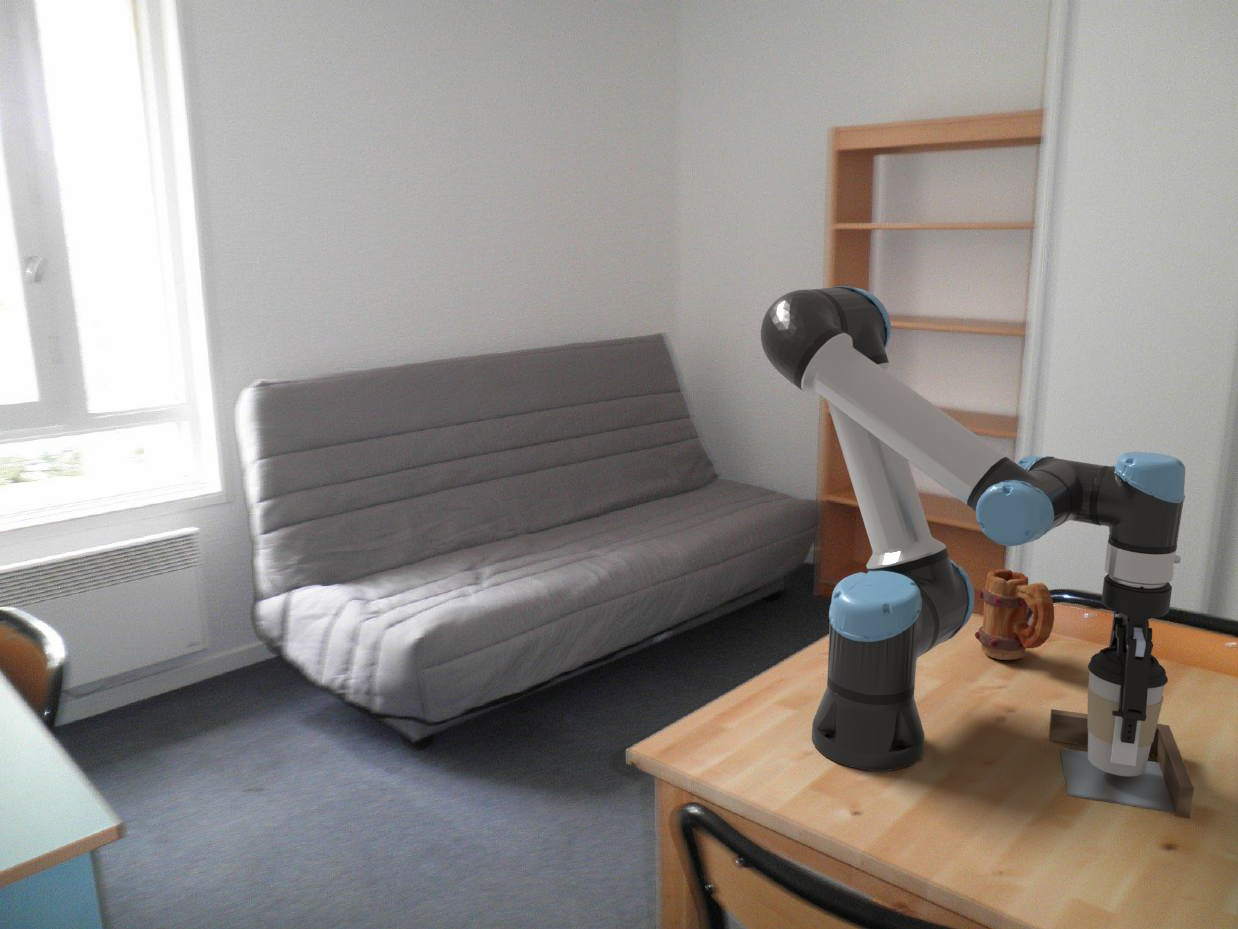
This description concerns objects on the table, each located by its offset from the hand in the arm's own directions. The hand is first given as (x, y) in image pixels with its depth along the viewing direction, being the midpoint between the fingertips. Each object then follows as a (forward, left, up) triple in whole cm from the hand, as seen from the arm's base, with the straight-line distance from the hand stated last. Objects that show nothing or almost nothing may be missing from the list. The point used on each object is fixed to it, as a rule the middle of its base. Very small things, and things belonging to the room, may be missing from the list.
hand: (1118, 745), depth 128 cm
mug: (-11, +35, -5) cm, 37 cm away
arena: (0, +2, -5) cm, 5 cm away
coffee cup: (0, 0, -3) cm, 3 cm away
